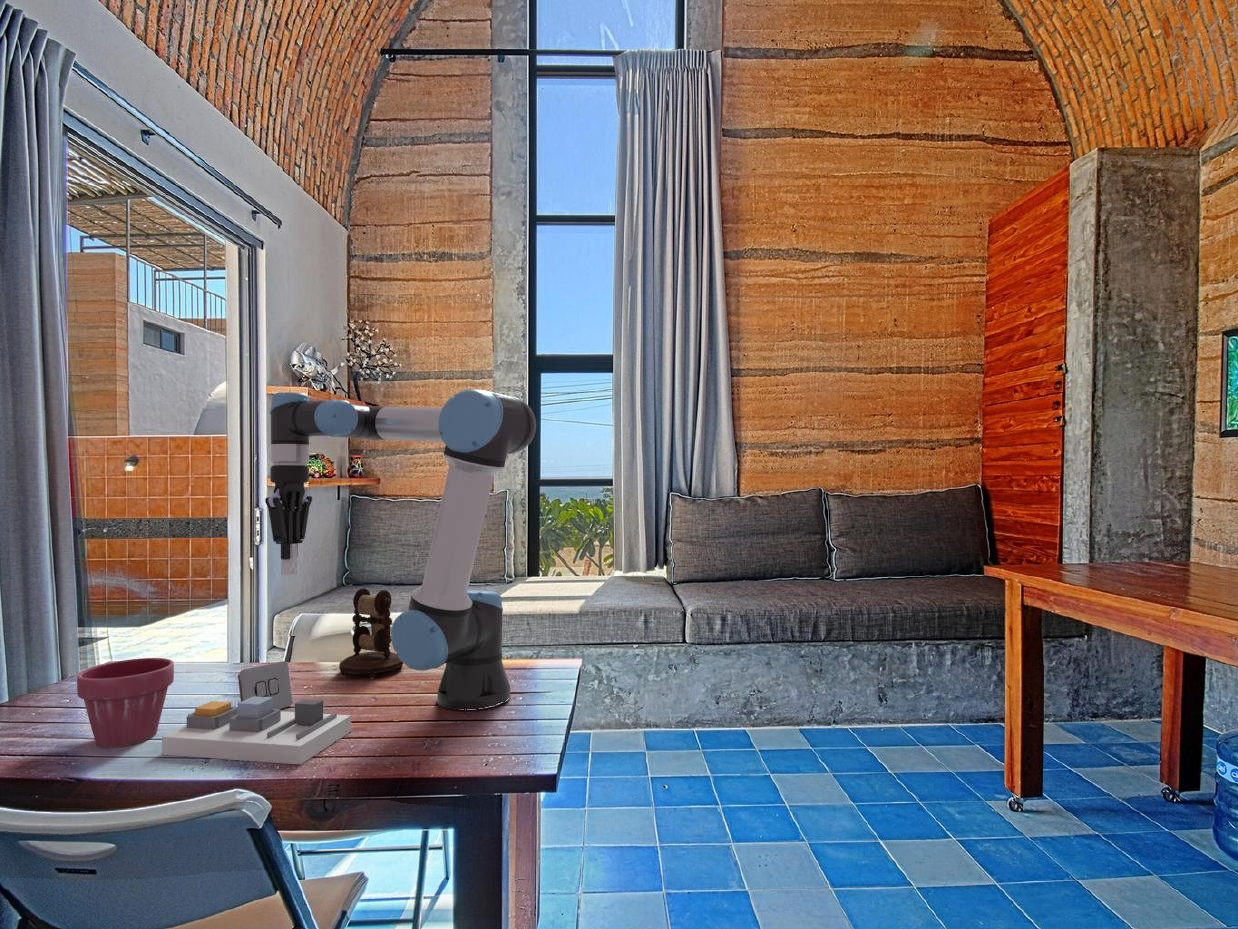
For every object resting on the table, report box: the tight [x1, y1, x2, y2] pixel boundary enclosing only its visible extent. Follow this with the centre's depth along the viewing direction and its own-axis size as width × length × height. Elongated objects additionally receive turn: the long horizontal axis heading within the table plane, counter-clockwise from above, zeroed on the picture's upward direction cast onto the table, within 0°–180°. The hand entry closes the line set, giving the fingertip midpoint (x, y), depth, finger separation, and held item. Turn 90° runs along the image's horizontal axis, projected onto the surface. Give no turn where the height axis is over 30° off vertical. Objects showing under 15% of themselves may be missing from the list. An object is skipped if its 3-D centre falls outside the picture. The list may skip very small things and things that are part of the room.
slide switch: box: [294, 698, 324, 725], centre depth 124 cm, size 4×2×4 cm, turn 80°
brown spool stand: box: [338, 588, 404, 679], centre depth 170 cm, size 15×15×20 cm
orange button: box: [194, 700, 232, 716], centre depth 125 cm, size 4×4×3 cm
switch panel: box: [161, 705, 352, 765], centre depth 123 cm, size 26×15×5 cm, turn 80°
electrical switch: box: [237, 660, 294, 709], centre depth 141 cm, size 9×5×9 cm, turn 141°
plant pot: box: [76, 657, 175, 748], centre depth 126 cm, size 14×14×13 cm
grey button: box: [237, 696, 273, 719], centre depth 124 cm, size 4×4×3 cm
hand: (289, 574), depth 149 cm, fingers closed
